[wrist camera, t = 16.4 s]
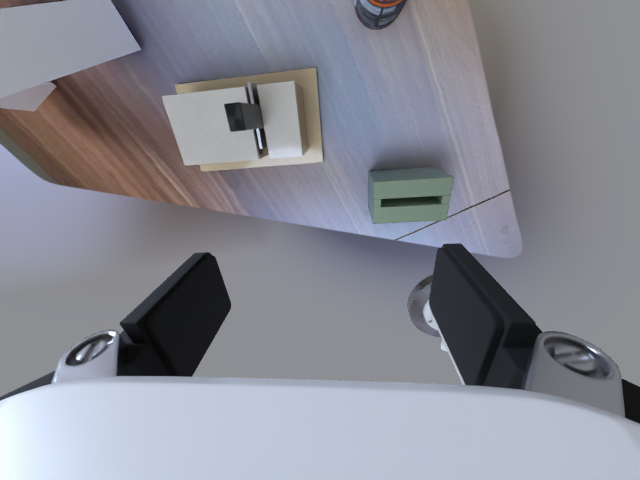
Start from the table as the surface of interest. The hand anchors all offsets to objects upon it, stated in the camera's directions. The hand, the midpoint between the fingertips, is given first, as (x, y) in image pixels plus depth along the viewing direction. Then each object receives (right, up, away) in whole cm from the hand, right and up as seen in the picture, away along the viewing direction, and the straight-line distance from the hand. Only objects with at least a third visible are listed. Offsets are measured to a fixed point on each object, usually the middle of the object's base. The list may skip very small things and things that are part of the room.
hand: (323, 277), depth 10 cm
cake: (-10, +19, +25) cm, 33 cm away
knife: (-7, +19, +24) cm, 31 cm away
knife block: (+13, +10, +28) cm, 32 cm away
